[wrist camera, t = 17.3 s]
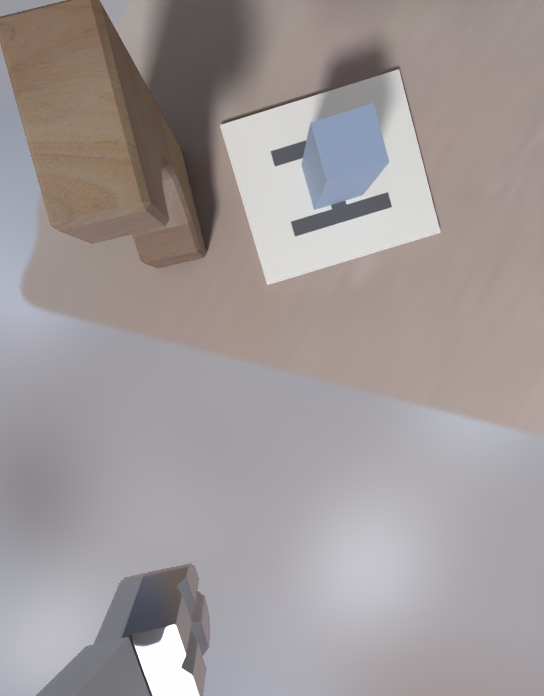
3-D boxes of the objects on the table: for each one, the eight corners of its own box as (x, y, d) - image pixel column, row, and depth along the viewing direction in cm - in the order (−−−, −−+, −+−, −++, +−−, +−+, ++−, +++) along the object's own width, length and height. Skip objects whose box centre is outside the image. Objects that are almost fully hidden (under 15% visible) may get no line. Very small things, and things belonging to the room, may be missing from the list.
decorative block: (208, 258, 41) (150, 209, 21) (153, 269, 41) (45, 231, 21) (183, 146, 40) (98, -14, 20) (127, 158, 40) (-12, 11, 20)
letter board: (397, 72, 40) (399, 69, 39) (438, 233, 41) (440, 232, 40) (220, 127, 40) (219, 125, 39) (267, 285, 42) (267, 284, 41)
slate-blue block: (350, 149, 40) (373, 103, 31) (362, 195, 40) (389, 162, 31) (301, 164, 40) (310, 122, 31) (314, 210, 40) (326, 181, 31)
